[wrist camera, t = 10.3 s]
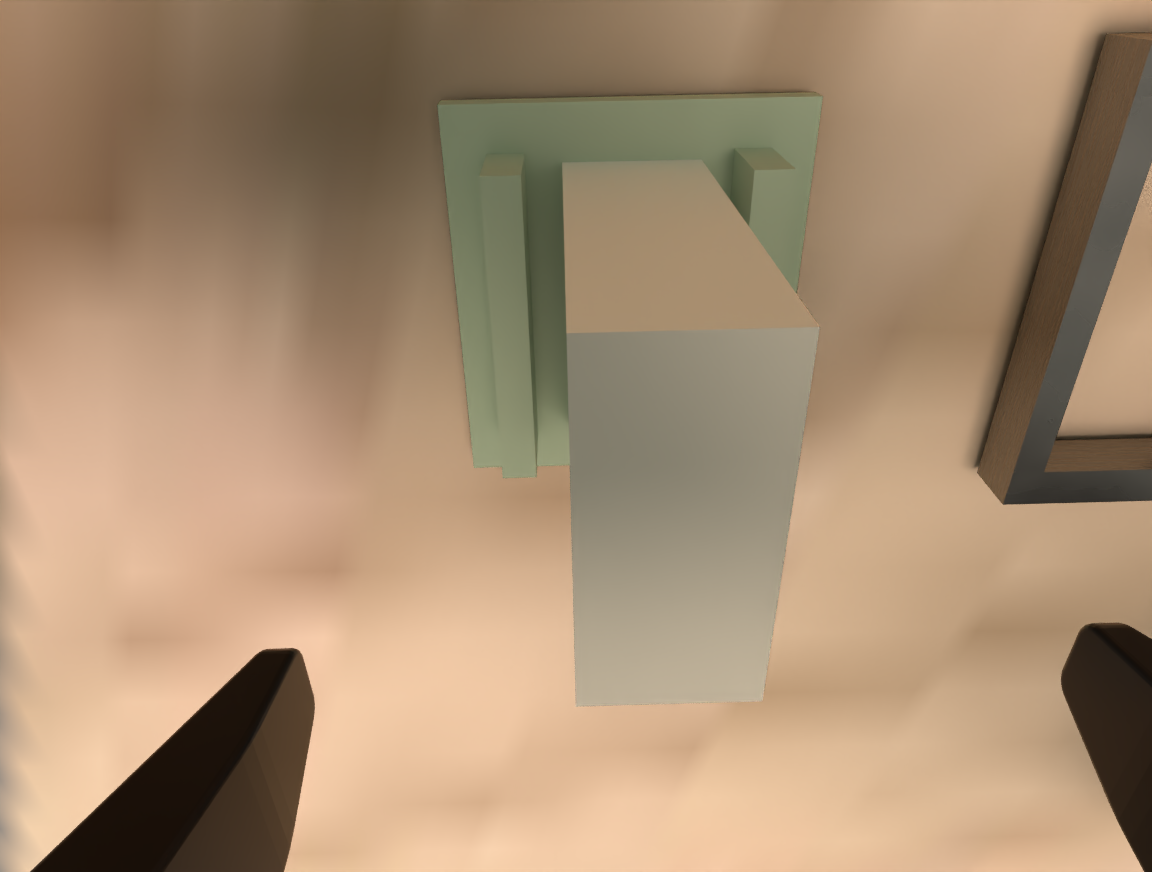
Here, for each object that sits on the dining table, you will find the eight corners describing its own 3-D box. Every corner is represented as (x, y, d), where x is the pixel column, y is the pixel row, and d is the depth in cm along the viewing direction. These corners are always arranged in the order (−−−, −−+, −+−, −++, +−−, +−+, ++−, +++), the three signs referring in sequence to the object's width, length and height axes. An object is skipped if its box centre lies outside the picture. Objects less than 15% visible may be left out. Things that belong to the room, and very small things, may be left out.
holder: (815, 91, 17) (853, 113, 15) (769, 447, 22) (793, 504, 19) (440, 100, 17) (423, 122, 15) (476, 455, 22) (466, 513, 19)
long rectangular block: (701, 159, 17) (820, 327, 9) (684, 420, 20) (762, 701, 13) (562, 162, 17) (566, 333, 9) (568, 423, 20) (576, 706, 13)
